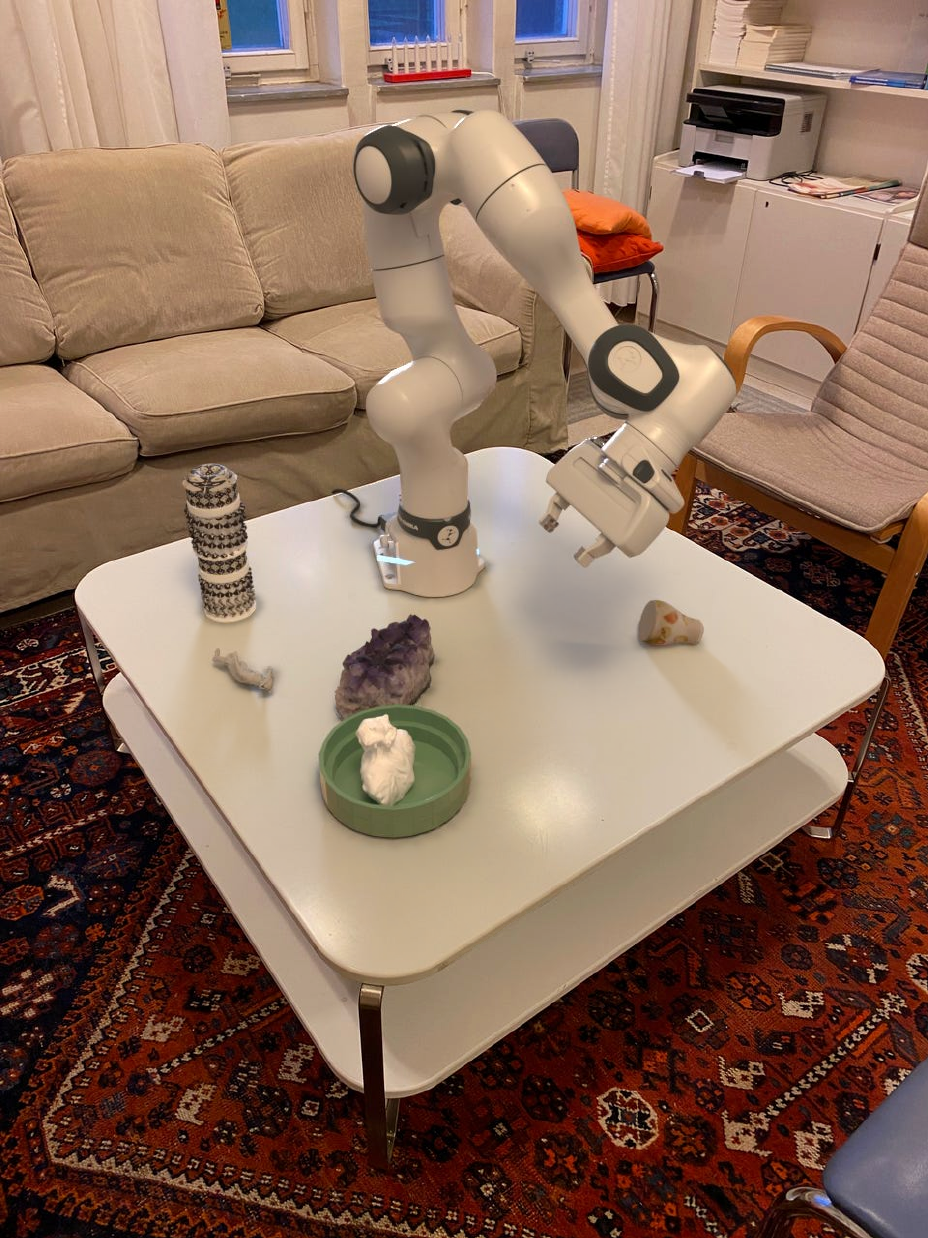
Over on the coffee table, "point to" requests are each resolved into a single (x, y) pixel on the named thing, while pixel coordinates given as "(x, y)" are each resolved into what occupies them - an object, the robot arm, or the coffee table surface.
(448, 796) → the bowl
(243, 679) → the grey figurine
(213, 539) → the decorative candle
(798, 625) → the coffee table surface
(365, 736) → the bust
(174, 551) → the coffee table surface
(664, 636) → the mug
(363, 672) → the geode
